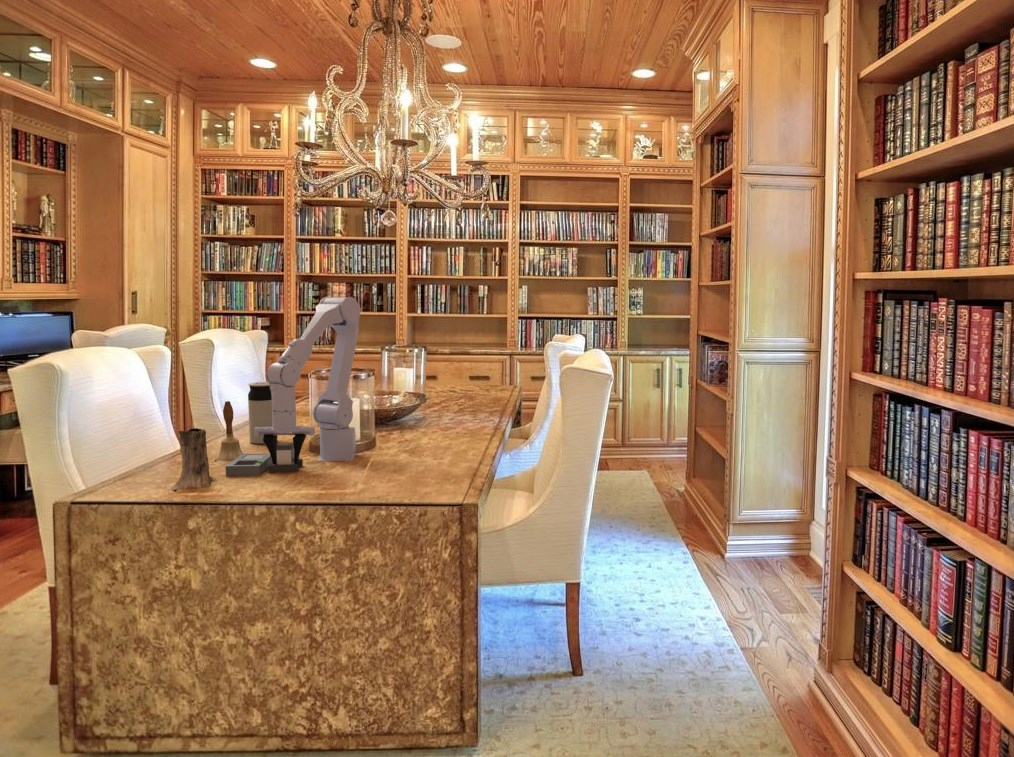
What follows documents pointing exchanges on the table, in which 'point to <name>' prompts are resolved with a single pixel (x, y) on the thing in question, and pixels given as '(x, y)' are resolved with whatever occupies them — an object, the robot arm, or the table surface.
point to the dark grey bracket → (285, 468)
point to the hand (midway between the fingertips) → (285, 463)
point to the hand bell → (229, 437)
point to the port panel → (249, 464)
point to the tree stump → (193, 460)
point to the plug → (285, 453)
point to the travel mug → (259, 409)
